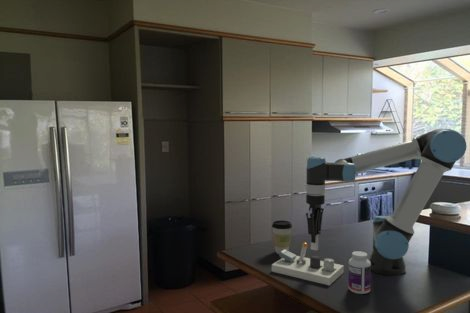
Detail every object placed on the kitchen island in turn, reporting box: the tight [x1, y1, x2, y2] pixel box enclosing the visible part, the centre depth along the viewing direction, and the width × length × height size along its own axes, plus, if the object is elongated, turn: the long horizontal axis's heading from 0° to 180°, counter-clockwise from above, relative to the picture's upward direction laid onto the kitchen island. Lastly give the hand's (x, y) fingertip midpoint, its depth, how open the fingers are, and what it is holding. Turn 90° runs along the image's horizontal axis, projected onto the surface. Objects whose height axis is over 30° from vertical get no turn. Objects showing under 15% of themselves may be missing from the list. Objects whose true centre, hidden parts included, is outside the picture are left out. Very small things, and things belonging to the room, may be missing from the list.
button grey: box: [323, 258, 335, 272], centre depth 157 cm, size 4×4×4 cm
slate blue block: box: [278, 249, 297, 262], centre depth 168 cm, size 6×4×2 cm
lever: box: [299, 242, 309, 262], centre depth 166 cm, size 3×3×9 cm
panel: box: [271, 255, 345, 286], centre depth 163 cm, size 26×16×5 cm, turn 55°
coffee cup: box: [271, 219, 293, 255], centre depth 188 cm, size 10×10×15 cm
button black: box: [309, 255, 321, 269], centre depth 161 cm, size 4×4×4 cm
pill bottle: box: [347, 250, 372, 295], centre depth 144 cm, size 8×8×14 cm
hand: (314, 249), depth 160 cm, fingers closed
